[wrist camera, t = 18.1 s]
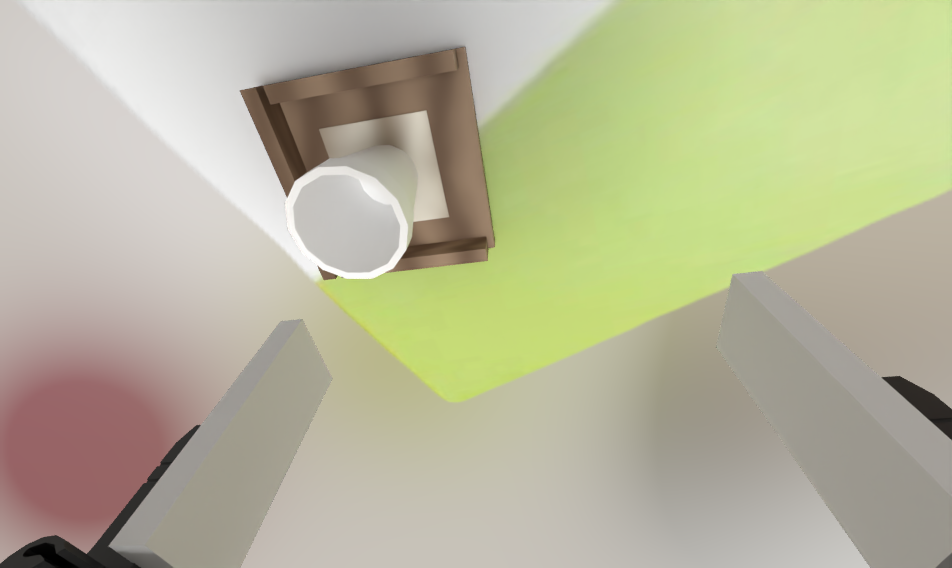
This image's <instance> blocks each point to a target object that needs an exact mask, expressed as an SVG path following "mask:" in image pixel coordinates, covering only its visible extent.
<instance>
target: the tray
mask: <svg viewBox="0 0 952 568" xmlns="http://www.w3.org/2000/svg"><path fill="white" fill-rule="evenodd" d="M240 92H241V95H242V97H243V99H244V101H245V104H246V106H247V108H248V110H249V113H250V115H251V117H252V119H253V122H254V124H255V126H256V128H257V131H258V133H259V135H260V137H261V140H262V142H263V144H264V146H265V149H266V151H267V153H268V155H269V158H270V160H271V162H272V165H273V167H274V169H275V171H276V174H277V176H278V178H279V180H280V183H281V185H282V187H283V189H284V192H285V194H286V196H287V198H288V195H289V193H290V191H291V189H292V187H293V185H294V182H295V181H296V180H297V179H299V178H300V177H301V176H303V175H304V174H306V173H307V172H309V171H310V170H312V169H313V168H315V167H317V166H318V165H320V164H321V163H323V162H325V161H326V160H328V159H329V158H341V157H344V156H347V155H350V154H352V153H355V152H358V151H361V150H364V149H367V148H370V147H373V146H377V145H391V146H394V147H396V148H398V149H400V150H403V151H404V152H405V153H406V154H407V155H408V156H409V157H410V158H411V159H412V160H413V162H414V164H415V167H416V170H417V173H418V183H417V192H416V198H415V205H414V211H413V213H414V220H413V230H412V238H411V240H410V243H409V245H408V247H407V249H406V251H405V253H404V254H403V255H402V257H401V258H400V260H399V261H398V262H397V264H396V265H395V267H394V268H393V269H391V270H389V271H387V272H385V273H388V272H396V271H405V270H413V269H422V268H430V267H439V266H447V265H456V264H464V263H473V262H481V261H488V248H493V247H495V239H494V232H493V226H492V219H491V213H490V206H489V199H488V193H487V186H486V180H485V173H484V166H483V160H482V153H481V147H480V140H479V133H478V127H477V120H476V114H475V107H474V101H473V94H472V87H471V81H470V74H469V68H468V61H467V54H466V48H465V47H461V48H456V49H451V50H446V51H441V52H435V53H430V54H425V55H420V56H415V57H409V58H404V59H399V60H394V61H389V62H383V63H378V64H373V65H368V66H363V67H357V68H352V69H347V70H342V71H337V72H331V73H326V74H321V75H316V76H311V77H306V78H300V79H295V80H290V81H285V82H280V83H274V84H269V85H264V86H259V87H254V88H250V89H245V90H240ZM318 268H319V271H320V273H321V275H322V277H323V280H328V279H336V278H337V276H338V275H336V274H333V273H330V272H327V271H325V270H322V269H321V268H320V267H319V266H318ZM342 278H344V277H342Z"/></svg>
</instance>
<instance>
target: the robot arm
mask: <svg viewBox="0 0 952 568" xmlns="http://www.w3.org/2000/svg"><path fill="white" fill-rule="evenodd" d="M716 348H717V349H718V350H719V352H720V353H721V355H722V356H723V358H724V359H725V361H726V362H727V363H728V365H729V366H730V368H731V369H732V370H733V372H734V373H735V375H736V376H737V378H738V379H739V380H740V382H741V383H742V385H743V386H744V388H745V389H746V391H747V392H748V393H749V395H750V396H751V398H752V399H753V400H754V402H755V403H756V405H757V406H758V408H759V409H760V411H761V412H762V413H763V415H764V416H765V418H766V419H767V420H768V422H769V423H770V425H771V426H772V428H773V429H774V431H775V432H776V433H777V435H778V436H779V438H780V439H781V440H782V442H783V443H784V445H785V446H786V448H787V449H788V451H789V452H790V453H791V455H792V456H793V458H794V459H795V461H796V462H797V463H798V465H799V466H800V468H801V469H802V470H803V472H804V473H805V475H806V476H807V478H808V479H809V481H810V482H811V483H812V485H813V486H814V488H815V489H816V491H817V492H818V494H819V495H820V496H821V498H822V499H823V500H824V502H825V503H826V505H827V506H828V508H829V509H830V511H831V512H832V513H833V515H834V516H835V518H836V519H837V521H838V522H839V524H840V525H841V526H842V528H843V529H844V530H845V532H846V533H847V535H848V536H849V538H850V539H851V541H852V542H853V543H854V545H855V546H856V548H857V549H858V551H859V552H860V554H861V555H862V556H863V558H864V559H865V561H866V562H867V564H868V565H869V566H870V568H952V409H951V408H950V407H948V406H947V405H946V404H945V403H944V402H942V401H941V400H940V399H939V398H937V397H936V396H935V395H934V394H932V393H930V392H928V391H926V390H925V389H923V388H921V387H919V386H917V385H915V384H913V383H912V382H910V381H908V380H906V379H904V378H902V377H900V376H895V377H880V376H879V375H878V374H877V373H876V372H875V371H873V370H872V369H871V368H870V367H869V366H868V365H866V364H865V363H864V362H863V361H862V360H861V359H860V358H859V357H858V356H856V355H855V354H854V353H853V352H852V351H851V350H850V349H849V348H848V347H847V346H845V345H844V344H843V343H842V342H841V341H840V340H839V339H837V338H836V337H835V336H834V335H833V334H832V333H831V332H829V330H827V329H826V328H825V327H824V326H823V325H822V324H820V323H819V322H818V321H817V320H816V319H815V318H814V317H813V316H812V315H810V314H809V313H808V312H807V311H806V310H805V309H804V308H803V307H802V306H800V305H799V304H798V303H797V302H796V301H795V300H794V299H792V297H790V296H789V295H788V294H787V293H786V292H785V291H784V290H783V289H781V288H780V287H779V286H778V285H777V284H776V283H774V281H772V280H771V279H770V278H769V277H768V276H767V275H766V274H765V273H764V272H762V271H758V272H748V273H739V274H733V275H732V279H731V283H730V288H729V292H728V297H727V301H726V305H725V310H724V314H723V318H722V323H721V328H720V332H719V336H718V341H717V345H716ZM331 381H332V376H331V374H330V372H329V370H328V368H327V367H326V365H325V363H324V361H323V359H322V357H321V355H320V353H319V351H318V349H317V347H316V345H315V343H314V341H313V339H312V337H311V336H310V333H309V331H308V329H307V328H306V325H305V323H304V321H303V320H302V319H298V320H289V321H281V322H280V323H279V324H278V326H277V327H276V328H275V329H274V331H273V332H272V333H271V335H270V336H269V337H268V339H267V340H266V341H265V343H264V344H263V345H262V346H261V348H260V349H259V350H258V352H257V353H256V354H255V356H254V357H253V358H252V360H251V361H250V362H249V363H248V365H247V366H246V367H245V369H244V370H243V371H242V372H241V374H240V375H239V376H238V378H237V379H236V380H235V382H234V383H233V385H232V386H231V387H230V388H229V389H228V391H227V392H226V393H225V395H224V396H223V397H222V399H221V400H220V401H219V402H218V404H217V405H216V406H215V408H214V409H213V410H212V412H211V413H210V414H209V416H208V417H207V418H206V420H205V421H204V422H203V423H202V425H196V426H195V427H194V428H193V429H192V430H190V431H189V432H188V433H187V434H186V435H185V436H184V437H182V438H181V439H180V440H179V441H178V442H176V444H175V445H174V446H173V448H172V449H171V450H170V451H169V452H168V454H167V455H166V456H165V457H164V459H163V460H162V461H161V465H160V466H158V467H156V469H155V470H154V471H153V472H152V474H151V475H150V476H149V477H148V479H147V480H148V481H147V483H144V484H143V485H142V486H141V488H140V489H139V490H138V491H137V493H136V494H135V495H134V496H133V498H132V499H131V500H130V501H129V503H128V504H127V505H126V507H125V508H124V509H123V510H122V511H121V513H120V514H119V515H118V516H117V518H116V519H115V520H114V522H113V523H112V524H111V525H110V526H109V528H108V529H107V530H106V532H105V533H104V534H103V535H102V537H101V538H100V539H99V540H98V542H97V543H96V544H95V545H94V547H93V548H92V549H91V550H90V551H89V552H88V553H87V554H85V553H84V552H82V551H81V550H79V549H78V548H76V547H75V546H73V545H72V544H70V543H69V542H67V541H65V540H64V539H62V538H60V537H59V536H56V535H55V536H48V537H43V538H40V539H38V540H36V541H34V542H32V543H29V544H28V545H25V546H24V547H23V548H21V549H19V550H18V551H16V552H15V553H13V554H12V555H10V556H9V557H8V558H7V559H5V560H4V561H3V562H2V563H1V564H0V568H240V567H241V565H242V563H243V561H244V559H245V557H246V555H247V553H248V551H249V549H250V547H251V545H252V543H253V541H254V538H255V536H256V534H257V532H258V530H259V528H260V526H261V524H262V522H263V520H264V518H265V516H266V514H267V511H268V510H269V507H270V506H271V504H272V502H273V500H274V497H275V495H276V493H277V491H278V489H279V487H280V485H281V483H282V481H283V479H284V477H285V475H286V473H287V471H288V469H289V467H290V465H291V463H292V460H293V458H294V456H295V454H296V452H297V450H298V448H299V446H300V444H301V442H302V440H303V438H304V436H305V434H306V432H307V430H308V428H309V425H310V423H311V422H312V419H313V417H314V415H315V413H316V411H317V409H318V407H319V405H320V403H321V401H322V399H323V396H324V395H325V393H326V391H327V389H328V387H329V385H330V383H331Z"/></svg>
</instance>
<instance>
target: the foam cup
mask: <svg viewBox="0 0 952 568" xmlns="http://www.w3.org/2000/svg"><path fill="white" fill-rule="evenodd" d="M417 183H418V173H417V170H416V167H415V164H414V162H413V160H412V159H411V158H410V157H409V156H408V155H407V154H406V153H405V152H404V151H403V150H400V149H398V148H396V147H394V146H391V145H377V146H373V147H370V148H367V149H364V150H361V151H358V152H355V153H352V154H350V155H347V156H344V157H341V158H329V159H328V160H326V161H325V162H323V163H321V164H320V165H318V166H317V167H315V168H313V169H312V170H310V171H309V172H307V173H306V174H304V175H303V176H301V177H300V178H299V179H297V180H296V181H295V182H294V185H293V187H292V189H291V191H290V193H289V195H288V198H287V200H286V202H285V209H286V219H287V229H288V231H289V232H290V234H291V236H292V237H293V239H294V241H295V243H296V244H297V246H298V248H299V249H300V251H301V253H303V254H304V255H305V256H306V257H308V258H309V259H310V260H311V261H312V262H314V263H315V264H316V265H317V266H319V267H320V268H321V269H322V270H325V271H327V272H330V273H333V274H336V275H338V276H341V277H344V278H347V279H370V278H375V277H377V276H379V275H381V274H383V273H385V272H387V271H389V270H391V269H393V268H394V267H395V265H396V264H397V262H398V261H399V260H400V258H401V257H402V255H403V254H404V253H405V251H406V249H407V247H408V245H409V243H410V240H411V238H412V230H413V220H414V213H413V211H414V205H415V198H416V192H417Z"/></svg>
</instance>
